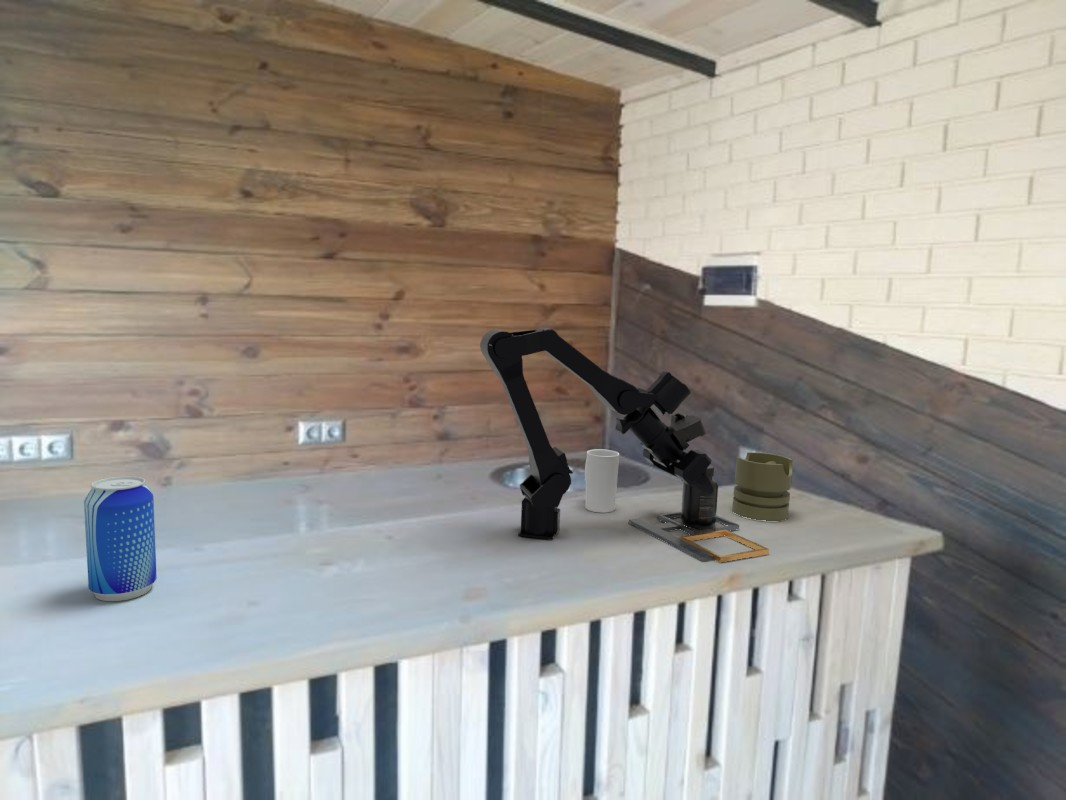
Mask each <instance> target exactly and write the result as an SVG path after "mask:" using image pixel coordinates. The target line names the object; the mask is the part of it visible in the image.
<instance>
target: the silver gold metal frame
mask: <svg viewBox="0 0 1066 800" xmlns="http://www.w3.org/2000/svg"><path fill="white" fill-rule="evenodd" d="M674 517H680V518H681V511H677V512H668V513H661V514H657V520H658V519H659V520H658V521H660V520H661V521H660V522H662V521H663V523H656V524H655V523H654V524H652V523H651V522H647V521H646V520H644V519H642V518H630V519H628V524H629V525H631V526H633V525H634V526H636V527H637V529H638V528H639V529H638V530H640V529H641V530H640V531H642V530H643V532H644V531H645V532H644V533H646V532H647V533H646V534H648V533H649V534H648V535H650V534H651V535H650V536H652V535H653V536H652V537H654V536H655V537H654V538H656V537H657V538H656V539H658V538H659V539H658V540H660V539H661V540H663V541H665V542H667V543H668V545H669V544H670V545H669V546H671V545H672V546H671V547H673V546H674V548H675V547H676V548H675V549H677V548H678V549H677V550H679V549H680V550H679V551H681V550H682V551H681V552H683V553H685V554H686V553H687V555H688V554H689V556H690V555H691V556H690V557H692V556H693V558H694V557H695V558H694V559H696V558H697V559H696V560H698V561H700V562H701V563H705V562H711V561H715V560H716V561H715V562H717V561H718V562H717V563H719V562H720V563H719V564H722V563H721V562H724V563H728V562H727V561H730V562H733V561H732V560H735V561H738V560H737V559H741V560H743V559H742V558H746V559H750V558H749V557H752V558H757V557H762V556H768V555H770V549H769V548H767V547H765V546H763V545H761V544H759V543H756V542H755V541H751V540H749V539H747V538H745V537H743V536H741V535H738V534H736V533H734V532H733V531H730V530H736V529H739V530H740V524H738V523H735V522H733V521H732V520H731V521H730V520H729V519H727V518H724V517H722V516H719V515H717V514H716V521H718V522H717V523H719V522H720V523H719V524H721V523H723V524H725V525H728V526H725V525H723V524H722V525H723V526H716V527H715V526H714V527H713V528H708V529H693V528H689V527H686V526H684V525H683V524H682V523H679V522H678V521H675V520H673V519H675V518H674ZM669 518H673V519H669ZM664 522H666V523H664ZM634 526H633V527H634ZM636 527H635V528H636ZM675 529H681V530H683V531H685V532H687V533H689V534H690V535H689V534H687V533H686V534H687V535H682V536H676V535H674V534H672V533H670V532H671V531H670V530H675ZM681 530H680V531H681ZM666 531H668V532H666ZM675 531H676V530H675ZM683 531H682V532H683ZM736 531H737V530H736ZM685 532H684V533H685ZM724 535H725V536H724ZM719 536H722V537H726V536H727V537H726V538H728V537H729V538H728V539H730V538H732V539H734V540H736V541H735V542H737V541H738V542H737V543H739V542H741V543H742V544H741V543H740V544H741V545H743V544H745V545H747V546H746V547H748V546H749V547H748V548H750V547H751V548H750V549H752V548H753V549H752V550H747V551H746V550H745V551H742V552H741V551H740V552H736V553H731V554H730V553H729V554H723V555H721V554H718V553H716V552H714V551H712V550H710V549H708V548H706V547H704V546H702V545H700V544H698V543H696V542H695V541H694V540H697V541H701V540H700V539H703V540H708V539H707V538H710V539H715V538H714V537H716V538H720V537H719ZM732 539H731V540H732ZM661 540H660V541H661ZM734 540H733V541H734ZM663 541H662V542H663ZM665 542H664V543H665ZM667 543H666V544H667ZM745 545H744V546H745ZM754 549H755V550H754ZM710 560H711V561H710Z"/></svg>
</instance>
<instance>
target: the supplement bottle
mask: <svg viewBox="0 0 1066 800" xmlns="http://www.w3.org/2000/svg"><path fill="white" fill-rule="evenodd" d="M706 472H707V475H708V477H709V480H710V482H711V484H712V486H713V489H714V492H713V493H712V494H708V493H706V492H704V491H702V490H699V489H697V488H695V487H693V486H690V485H688V484H686V483H684V482H682V496H681V511H680V512H681V517H680V522H681V524H682V525H685V526H687V527H690V528H691V529H693V528H695V529H694V530H701V529H708V528H715V526H716V525H717V524H716V523H717V522H716V515H717V509H718V495H719V485H718V482H717V481H716V480H715V479H714V478H713V477H715V474H714V473H715V467H714V466H713V465H711V464H710V465H709V467H708V468H707V470H706Z"/></svg>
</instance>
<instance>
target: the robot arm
mask: <svg viewBox="0 0 1066 800" xmlns="http://www.w3.org/2000/svg"><path fill="white" fill-rule="evenodd" d="M479 343H480V344H479V348H480V351H481V353H482V356H483V357H484V359H485V360H486V361H487V364H488V365H489V367H490V368H491V369H492V371H493V372H494V373H495V375H496V376H497V378H498V379H499V380H500V381H499V382H501V385H502V387H503V390H504V393H505V395H506V397H507V399H508V402H509V405H510V407H511V410H512V413H513V415H514V417H515V420H516V422H517V425H518V427H519V430H520V433H521V436H522V438H523V439H524V442H525V445H526V447H527V451H528V464H529V470H530V474H529V475H528V476H527V477H526V478H525V479H524V480H523V481H522V482H521V483H520V484H519V489H520V492H521V495H522V496H523V497H524V498H523V499H522V500H521V511H520V512H521V514H520V515H521V516H520V530H519V531H518V533H517V535H518V536H519V537H527V538H535V539H542V540H554V538H555V536H556V535H557V534H558V532H559V531H560V523H561V509H560V508H558V507H559V506H560V504H561V501H562V498H563V496H564V494H566V493H567V491H568V490H570V486H571V485H572V477H571V474H573V473H574V472H573V470H571V468H570V466H569V464H568V459H567V455H566V453H565V452H563V450H561V449H560V448H558V447H557V446H554V447H552V445H551V444H550V441H549V438H548V436H547V433H546V431H545V428H544V425H543V422H542V420H541V417H540V416H539V412H538V410H537V408H536V405H535V402H534V399H533V397H532V395H531V392H530V390H529V387H528V386H529V385H528V384H527V381H526V379H525V377H524V362H523V360H524V359H523V357H524V356H528V355H529V356H530V355H532V354H536V353H537V354H538V353H540V352H544V353H545V354H547V356H549V357H550V358H552V359H553V360H554V361H555V362H557V363H559V364H560V365H561V366H562V367H563V368H565V369H566V370H567V371H569V372H570V373H572V374H573V376H574V377H576V378H578V379H579V380H580V381H582V382H583V383H584V384H586V385H587V387H588V388H589V389H590V390H591V391H592V393H593V395H594V396H595V397H596V398H597V399H598V400H599V402H600V403H602V405H603V406H604V407H605V408H608V409H609V410H611V411H613V412H616V413H618V414H619V415H623V416H622V417H616V418H615V420H616V424H615V428H614V430H615V431H616V432H618V433H620V434H622V435H624V434H626V433H628V431H630V432H631V434H633V435H634V437H636V439H638V441H639V442H640V446H641V447H642V448H643V450H642V457H643V458H644V459H645V460H646V462H648V463H649V464H650V465H653V466H654V467H656V468H657V469H660V470H661V471H664V472H666V473H667V474H670V475H672V476H674V477H677V478H678V479H679V480H680V481H681V482H682V483H683V482H684V483H686V484H688V485H690V486H693V487H695V488H697V489H699V490H702V491H704V492H706V493H708V494H712V493H713V492H714V489H713V486H712V484H711V482H710V480H709V477H708V475H707V472H706V470H707V468H708V467H709V465H711V464H712V459H711V458H710V457H709V456H708V454H707V453H705V452H703V451H700V450H698V449H690V450H689V451H688V452H685V451H686V449H688V448H689V447H690V444H689V442H691V441H693V440H695V439H697V438H699V437H702V436H704V435H706V433H707V432H706V430H705V427H704V424H703V422H702V418H701V417H698V416H695V415H691V414H690V415H688V414H686V415H685V416H684V415H683V414H682V413H680V412H676V413H675V411H676V410H678V408H680V406H682V405H683V403H684V402H685V401H686V400H687V399H688V398H689V397H691V394H692V393H691V390H690V389H689V388H688V386H687V385H686V384H685V383H683V382H682V381H680V380H679V379H678V378H677V377H675V376H673V375H672V373H671V372H670V371H666V370H663V371H662V372H661V373H660V374H659V376H658V378H657V379H656V380H655V381H654V382H653V383H652V384H650V386H649V387H648V388H647V389H643V388H641V387H636V386H635V385H634V384H631V383H629V382H628V381H625V379H624V380H623V379H621V378H620V377H617V376H615V375H613V374H611V373H609V372H607V371H605V370H603V368H602V367H599V366H598V365H597V364H596V363H595V362H593V360H591V359H589V358H588V357H587V356H586V355H584V354H583V353H582V352H580V351H579V350H578V349H577V348H576V347H574V346H573V345H571V343H569V342H568V341H566V339H564V338H562V336H560V335H559V334H558V333H557V331H555V330H554V329H552V328H549V327H537V328H536V329H527V330H519V331H511V332H509V331H506V330H502V329H491V330H489V331H487V332H486V333H484V335H483V336H482V338H481V341H480V342H479ZM673 413H674V414H673ZM658 414H659V415H660V416H664V415H665V414H667V415H668V416H671V419H670V425H669V426H668V425H667V424H666V423H664V421H663V420H662V419H661V418H660V417H659V416H658Z"/></svg>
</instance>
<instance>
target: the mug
mask: <svg viewBox="0 0 1066 800" xmlns="http://www.w3.org/2000/svg"><path fill="white" fill-rule="evenodd" d="M619 462H620V453H619V452H618V451H616V450H611V449H610V450H609V449H602V448H601V449H599V448H598V449H596V448H594V449H589V450H587V451H586V461H585V464H584V465H585V466H584V479H585V503H584V504H585V506H584V507H585V509H586V510H587V511H589V512H594V513H598V514H600V513H601V514H605V513H606V514H607V513H612V512H614V511H615V509H616V500H617V486H618V474H619Z"/></svg>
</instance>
